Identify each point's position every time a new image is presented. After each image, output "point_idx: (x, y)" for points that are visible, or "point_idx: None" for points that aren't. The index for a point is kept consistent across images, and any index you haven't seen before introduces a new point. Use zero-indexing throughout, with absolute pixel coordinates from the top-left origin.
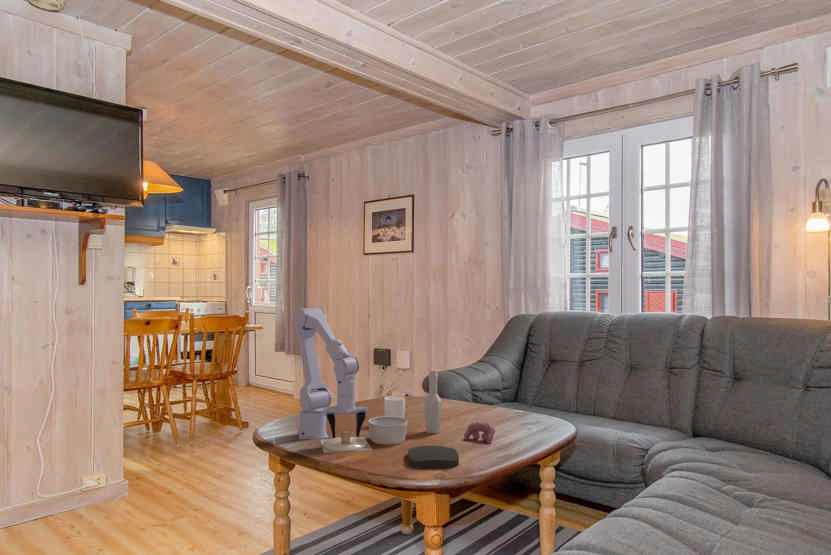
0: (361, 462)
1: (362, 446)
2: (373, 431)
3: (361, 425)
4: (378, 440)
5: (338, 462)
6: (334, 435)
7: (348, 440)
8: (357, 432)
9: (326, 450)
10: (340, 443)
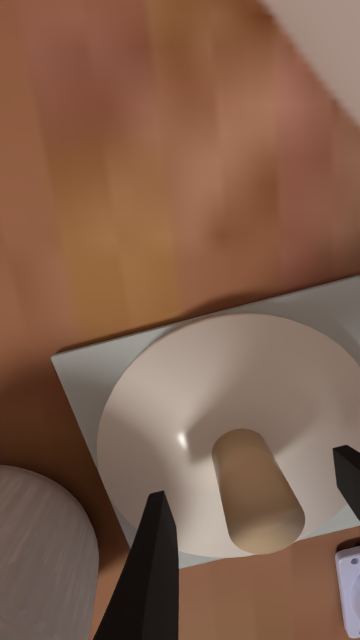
0: (80, 68)
1: (116, 383)
2: (25, 579)
3: (96, 635)
4: (20, 490)
5: (255, 67)
6: (357, 461)
7: (223, 454)
8: (157, 525)
9: (348, 326)
10: (270, 433)
